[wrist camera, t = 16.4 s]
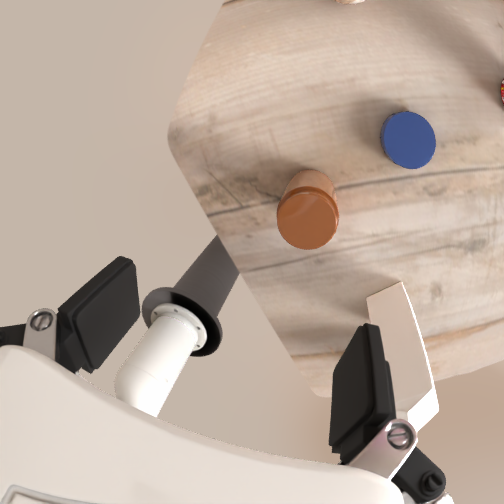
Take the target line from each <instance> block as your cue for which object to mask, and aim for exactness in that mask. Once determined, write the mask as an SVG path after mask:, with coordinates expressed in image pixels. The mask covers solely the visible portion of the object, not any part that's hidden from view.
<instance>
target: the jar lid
mask: <svg viewBox="0 0 504 504" xmlns="http://www.w3.org/2000/svg"><path fill="white" fill-rule="evenodd" d="M380 138H381V144H382V147H383V149H384V152H385V153H386V155H387V156H388V157H389V158H390V159H391V160H392V161H393V162H394V163H395V164H398V165H400V166H402V167H404V168H408V169H417V168H420V167H422V166H424V165H426V164H427V163H428V162H429V161H430V160H431V158H432V157H433V154H434V152H435V147H436V139H435V135H434V131H433V129H432V127H431V126H430V124H429V123H428V122H427V121H426V120H425V119H424V118H423V117H422V116H420V115H418V114H416V113H413V112H409V111H405V112H398V113H395V114H392V115H391V116H390V117H389V118H387V120H386V121H385V122H384V123H383V126H382V129H381V137H380Z"/></svg>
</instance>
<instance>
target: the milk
mask: <svg viewBox="0 0 504 504" xmlns="http://www.w3.org/2000/svg"><path fill="white" fill-rule="evenodd" d="M366 300H367V306H368V312H369V319H370V324H372V325H377V326H379V328H380V332H381V338H382V343H383V349H384V355H385V360H386V361H388V362H389V365H390V370H391V377H392V384H393V391H394V399H395V408H396V417H397V419H404V420H406V421H408V422H410V423H411V424H412V425H413V426H414V428H415V430H416V433H417V431H418V430H419V429H420V428H421V427H423V426H424V425H425V424H426V423H427V422H428V421H429V420H430V419H431V418H432V417H433V416H434V415H435V414H436V413H437V412H438V411H439V407H438V402H437V397H436V392H435V387H434V383H433V378H432V374H431V370H430V366H429V362H428V358H427V354H426V351H425V347H424V344H423V340H422V337H421V334H420V330H419V327H418V324H417V321H416V318H415V315H414V312H413V309H412V306H411V304H410V301H409V298H408V296H407V293H406V291H405V288H404V286H403V284H402V282H401V281H400V282H398V283H396V284H394V285H392V286H390V287H388V288H386V289H384V290H382V291H380V292H378V293H375V294H373V295H371V296H369V297H367V298H366ZM417 442H418V440H417Z"/></svg>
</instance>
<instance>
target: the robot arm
mask: <svg viewBox="0 0 504 504" xmlns="http://www.w3.org/2000/svg"><path fill="white" fill-rule="evenodd" d="M58 311H59V312H58V313H57V314H55V312H54V311H53V310H50V309H46V308H43V309H39V310H36V311H35V312H33V313H32V314H31V315H30V316H29V318H28V320H27V323H26V324H20V325H14V326H7V327H0V504H454V502H453V500H452V498H451V496H450V494H449V493H448V492H447V493H445V492H444V489H445V485H446V478H445V475H444V473H443V472H442V471H441V469H439V468H438V467H437V466H436V465H435V464H434V463H433V462H432V461H431V460H430V459H429V458H427V457H426V455H424V454H423V453H422V452H421V451H420V450H419V449H418V448H417V447H416V446H415V445H416V443H417V433H416V430H415V428H414V426H413V425H412V424H411V423H410V422H408V421H406V420H404V419H397V417H396V408H395V399H394V391H393V384H392V377H391V370H390V365H389V362H388V361H386V360H385V355H384V349H383V343H382V338H381V332H380V328H379V326H377V325H372V324H368V323H365V324H364V325H363V326H359V327H358V328H357V330H356V332H355V334H354V336H353V338H352V339H351V341H350V343H349V345H348V347H347V348H346V350H345V352H344V354H343V355H342V357H341V359H340V360H339V362H338V364H337V365H336V367H335V369H334V372H333V385H332V406H331V421H330V433H329V445H330V446H332V453H339V454H340V460H341V461H340V463H338V464H337V465H336V464H329V463H323V462H316V461H309V460H302V459H296V458H290V457H285V456H280V455H275V454H270V453H266V452H261V451H257V450H252V449H248V448H245V447H241V446H237V445H233V444H230V443H226V442H223V441H220V440H216V439H213V438H210V437H207V436H204V435H201V434H198V433H195V432H192V431H190V430H187V429H184V428H181V427H179V426H176V425H174V424H171V423H169V422H166V421H164V420H162V419H159V418H157V415H158V413H159V411H160V409H161V407H162V405H163V403H164V402H165V400H166V398H167V396H168V394H169V392H170V390H171V389H172V386H173V385H174V383H175V381H176V379H177V377H178V376H179V374H180V372H181V370H182V368H183V366H184V365H185V363H186V361H187V359H188V357H189V355H190V354H191V352H192V351H195V350H198V349H200V348H202V347H203V346H204V344H205V342H206V339H207V333H206V329H205V327H204V325H203V324H202V322H201V321H200V320H199V319H198V317H197V316H195V315H194V314H193V313H192V312H190V311H189V310H188V309H186V308H184V307H182V306H179V305H176V304H172V303H163V304H160V305H158V306H157V307H155V309H154V310H153V311H152V314H151V323H152V325H151V327H150V328H149V329H148V331H147V332H146V333H145V335H144V336H143V338H142V339H141V340H140V341H139V343H138V344H137V345H136V347H135V348H134V350H133V351H132V352H131V354H130V355H129V356H128V358H127V359H126V361H125V362H124V364H123V365H122V366H121V368H120V369H119V370H118V372H117V374H116V377H115V393H116V398H115V397H113V396H111V395H109V394H108V393H106V392H104V391H102V390H101V389H99V388H97V387H95V386H94V385H93V384H91V383H90V382H89V381H87V380H86V379H85V378H84V377H82V376H81V375H80V374H79V369H80V368H81V367H82V369H84V370H85V371H87V372H89V373H90V374H91V373H92V372H93V371H94V369H98V368H99V367H100V366H101V365H102V363H103V362H104V361H105V359H106V358H107V357H108V356H109V354H110V353H111V352H112V351H113V349H114V348H115V347H116V345H117V344H118V343H119V342H120V340H121V339H122V338H123V337H124V335H125V334H126V333H127V332H128V330H129V329H130V328H131V326H133V324H134V323H135V322H136V321H137V319H138V318H139V316H140V305H139V296H138V287H137V276H136V266H135V264H133V261H132V260H131V259H128V258H125V257H122V256H119V257H117V258H116V259H115V260H114V261H113V262H111V263H110V264H109V265H107V266H106V267H105V268H104V269H103V270H101V271H100V272H99V273H98V274H97V275H96V276H94V277H93V278H92V279H91V280H90V281H88V282H87V283H86V284H85V285H84V286H83V287H81V288H80V289H79V290H78V291H77V292H76V293H75V294H74V295H72V296H71V297H70V298H69V299H68V300H67V301H66V302H65V303H63V304H62V305H61V306H60V307H59V308H58Z"/></svg>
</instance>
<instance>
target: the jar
mask: <svg viewBox="0 0 504 504" xmlns="http://www.w3.org/2000/svg"><path fill="white" fill-rule="evenodd" d="M338 222H339V211H338V205H337V199H336V194H335V189H334V185H333V183H332V181H331V180H330V179H329V178H328V176H326V175H325V174H324V173H322V172H320V171H317V170H304V171H301V172H299V173H297V174H296V175H295V176H294V177H293V178H292V179H291V180H290V182H289V184H288V186H287V188H286V190H285V192H284V194H283V196H282V198H281V200H280V202H279V205H278V208H277V225H278V229H279V231H280V234H281V235H282V237H283V238H284V239H285V240H286V241H287V242H288V243H289V244H291V245H292V246H294V247H297V248H300V249H306V250H310V249H316V248H319V247H321V246H323V245H325V244H326V243H327V242H328V241H329V240H330V239H332V237H333V235H334V234H335V232H336V229H337V226H338Z"/></svg>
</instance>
